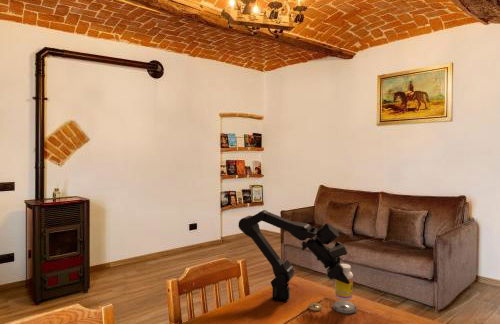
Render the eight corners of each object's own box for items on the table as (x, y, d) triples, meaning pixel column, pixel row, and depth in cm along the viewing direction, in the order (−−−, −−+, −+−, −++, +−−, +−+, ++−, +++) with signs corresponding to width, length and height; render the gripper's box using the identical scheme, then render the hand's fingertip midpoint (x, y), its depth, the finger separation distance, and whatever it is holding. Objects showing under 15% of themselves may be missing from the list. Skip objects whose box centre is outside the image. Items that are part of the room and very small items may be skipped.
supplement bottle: (353, 301, 136) (354, 269, 135) (335, 300, 137) (336, 268, 136) (351, 294, 142) (352, 263, 141) (334, 292, 144) (335, 262, 142)
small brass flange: (307, 310, 137) (307, 307, 137) (309, 304, 142) (309, 302, 142) (320, 312, 136) (320, 309, 136) (322, 306, 141) (322, 303, 141)
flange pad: (331, 312, 136) (331, 308, 136) (333, 302, 145) (333, 298, 145) (356, 315, 133) (356, 312, 133) (356, 305, 142) (356, 302, 142)
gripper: (337, 244, 129) (367, 275, 128) (333, 231, 148) (359, 258, 147) (315, 263, 131) (344, 295, 130) (313, 248, 149) (339, 275, 148)
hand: (347, 279), depth 139 cm, fingers closed on supplement bottle, 7 cm apart
